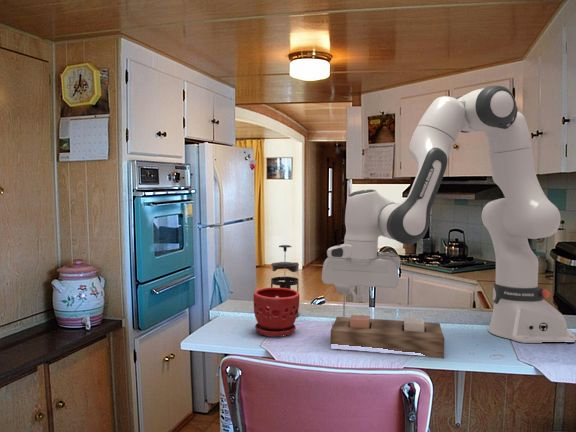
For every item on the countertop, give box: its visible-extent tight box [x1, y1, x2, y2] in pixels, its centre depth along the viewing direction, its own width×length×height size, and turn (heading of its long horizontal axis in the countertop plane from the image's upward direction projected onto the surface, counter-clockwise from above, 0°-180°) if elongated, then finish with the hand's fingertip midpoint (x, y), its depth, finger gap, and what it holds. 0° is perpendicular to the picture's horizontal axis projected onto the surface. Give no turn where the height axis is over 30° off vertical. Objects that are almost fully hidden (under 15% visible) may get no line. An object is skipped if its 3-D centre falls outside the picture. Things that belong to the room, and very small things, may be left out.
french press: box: [270, 244, 300, 318], centre depth 161 cm, size 12×9×23 cm
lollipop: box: [333, 284, 352, 317], centre depth 151 cm, size 6×6×15 cm
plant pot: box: [253, 286, 300, 337], centre depth 142 cm, size 13×13×12 cm
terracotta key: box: [350, 314, 371, 329], centre depth 133 cm, size 5×5×4 cm
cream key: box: [403, 317, 425, 332], centre depth 130 cm, size 5×5×4 cm
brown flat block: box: [329, 316, 445, 359], centre depth 132 cm, size 28×14×5 cm, turn 78°
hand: (359, 302), depth 132 cm, fingers closed
